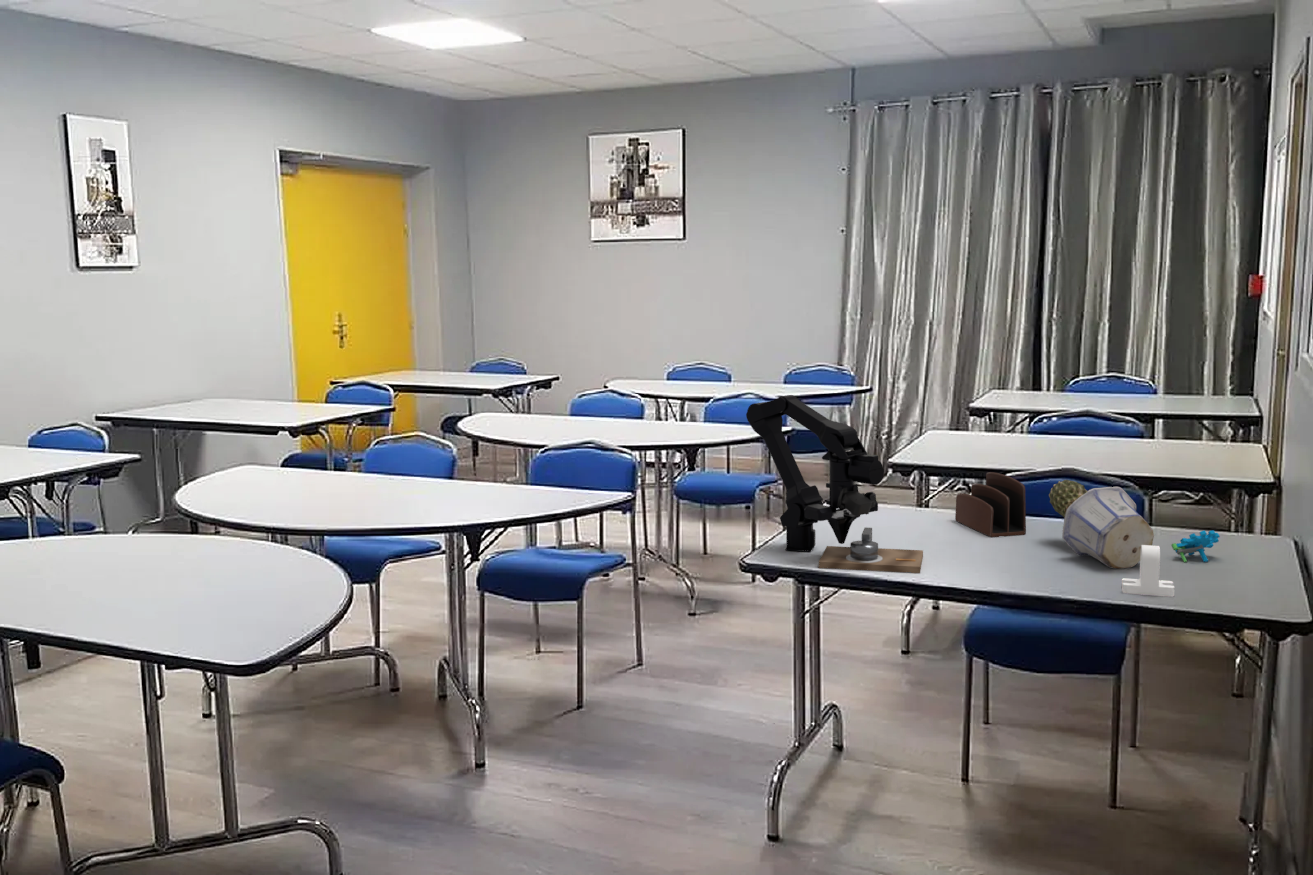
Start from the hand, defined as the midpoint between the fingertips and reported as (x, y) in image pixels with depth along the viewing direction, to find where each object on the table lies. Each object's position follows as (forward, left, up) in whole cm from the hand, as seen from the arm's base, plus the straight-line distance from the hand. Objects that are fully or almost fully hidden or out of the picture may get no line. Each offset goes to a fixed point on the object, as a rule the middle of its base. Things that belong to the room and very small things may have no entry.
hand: (841, 543), depth 264 cm
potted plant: (+58, +14, -4) cm, 60 cm away
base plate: (+7, -3, -4) cm, 9 cm away
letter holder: (+34, +38, -4) cm, 51 cm away
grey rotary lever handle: (+6, -2, -2) cm, 6 cm away
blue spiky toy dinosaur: (+80, +14, -4) cm, 81 cm away
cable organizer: (+66, -15, -4) cm, 68 cm away
